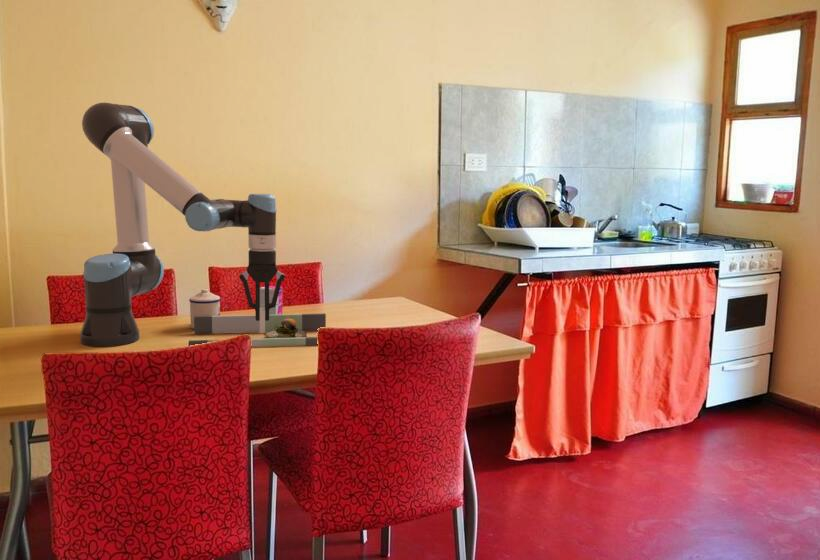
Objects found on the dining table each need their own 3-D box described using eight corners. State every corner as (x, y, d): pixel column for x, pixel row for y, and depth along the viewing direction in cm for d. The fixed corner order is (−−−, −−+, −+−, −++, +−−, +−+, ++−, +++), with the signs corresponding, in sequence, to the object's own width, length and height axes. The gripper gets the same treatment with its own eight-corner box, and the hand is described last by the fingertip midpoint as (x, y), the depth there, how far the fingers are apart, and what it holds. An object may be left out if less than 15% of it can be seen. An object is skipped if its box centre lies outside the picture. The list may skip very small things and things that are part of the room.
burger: (257, 338, 207) (257, 312, 205) (294, 332, 214) (294, 308, 213) (277, 347, 197) (277, 320, 196) (314, 341, 205) (314, 315, 203)
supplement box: (276, 325, 221) (276, 289, 220) (258, 324, 223) (257, 288, 221) (283, 321, 227) (283, 286, 225) (265, 320, 228) (265, 285, 226)
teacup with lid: (225, 328, 216) (224, 290, 214) (195, 331, 211) (194, 292, 210) (212, 320, 226) (211, 284, 224) (183, 323, 221) (182, 286, 220)
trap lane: (188, 348, 192) (188, 330, 191) (194, 332, 210) (194, 316, 209) (331, 344, 200) (331, 327, 199) (325, 329, 218) (325, 313, 217)
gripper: (237, 251, 196) (238, 335, 200) (286, 251, 199) (286, 334, 203) (238, 247, 203) (239, 329, 207) (285, 248, 206) (285, 328, 210)
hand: (262, 331), depth 205 cm, fingers closed
